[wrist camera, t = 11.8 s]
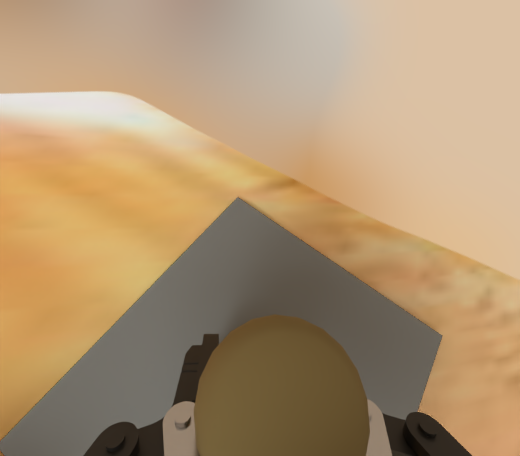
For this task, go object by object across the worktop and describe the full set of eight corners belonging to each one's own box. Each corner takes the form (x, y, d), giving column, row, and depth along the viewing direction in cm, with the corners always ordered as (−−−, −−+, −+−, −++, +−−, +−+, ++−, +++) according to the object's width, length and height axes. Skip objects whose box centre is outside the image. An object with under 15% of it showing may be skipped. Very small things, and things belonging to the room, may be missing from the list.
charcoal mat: (285, 780, 11) (288, 800, 11) (4, 442, 15) (-4, 445, 15) (437, 336, 21) (442, 335, 20) (237, 200, 25) (237, 197, 24)
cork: (190, 354, 17) (146, 335, 7) (276, 319, 18) (337, 266, 9) (218, 470, 14) (210, 687, 5) (315, 418, 16) (459, 495, 6)
